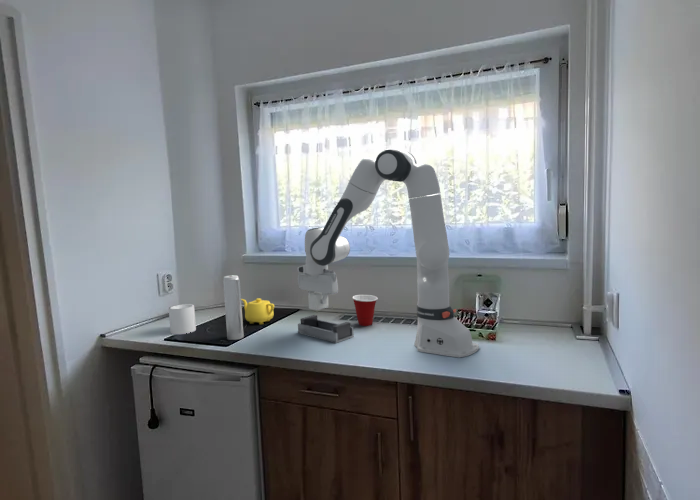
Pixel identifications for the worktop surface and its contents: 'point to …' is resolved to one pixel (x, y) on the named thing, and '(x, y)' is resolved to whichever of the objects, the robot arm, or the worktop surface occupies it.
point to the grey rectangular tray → (325, 329)
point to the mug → (182, 319)
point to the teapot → (258, 311)
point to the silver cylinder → (233, 307)
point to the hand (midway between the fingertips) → (318, 302)
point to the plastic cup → (365, 308)
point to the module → (316, 301)
